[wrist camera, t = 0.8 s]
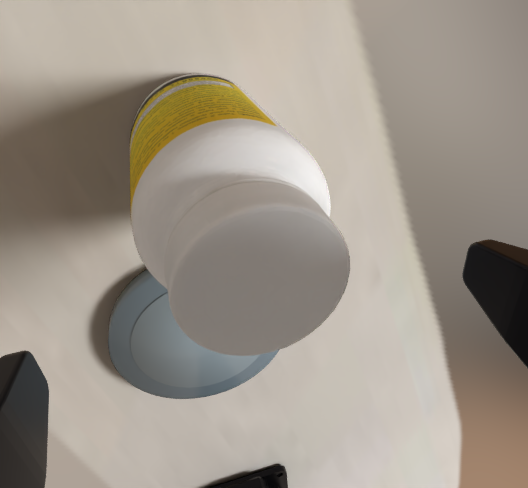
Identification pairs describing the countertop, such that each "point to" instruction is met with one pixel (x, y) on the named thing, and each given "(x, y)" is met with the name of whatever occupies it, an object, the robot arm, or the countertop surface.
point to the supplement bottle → (232, 218)
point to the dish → (169, 348)
